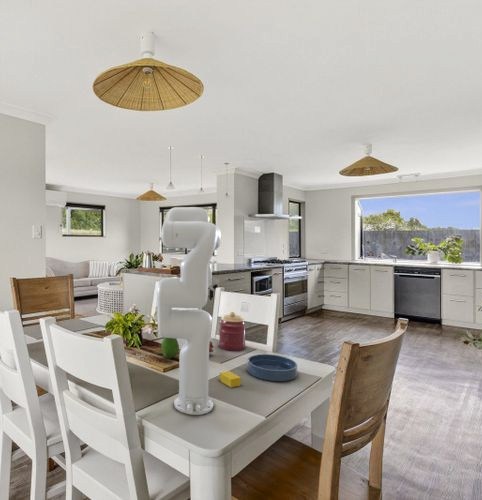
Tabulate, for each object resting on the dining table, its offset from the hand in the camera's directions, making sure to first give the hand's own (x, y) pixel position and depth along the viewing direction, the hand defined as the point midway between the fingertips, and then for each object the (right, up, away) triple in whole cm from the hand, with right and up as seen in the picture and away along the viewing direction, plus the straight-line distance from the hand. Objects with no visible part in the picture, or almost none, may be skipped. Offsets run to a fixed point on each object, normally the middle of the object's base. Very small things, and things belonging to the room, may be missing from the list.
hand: (199, 299), depth 156 cm
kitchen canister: (+19, -27, +24) cm, 41 cm away
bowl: (+28, -29, -10) cm, 41 cm away
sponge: (+9, -29, -20) cm, 36 cm away
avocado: (-12, -28, +7) cm, 31 cm away
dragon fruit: (+3, -28, +11) cm, 30 cm away
